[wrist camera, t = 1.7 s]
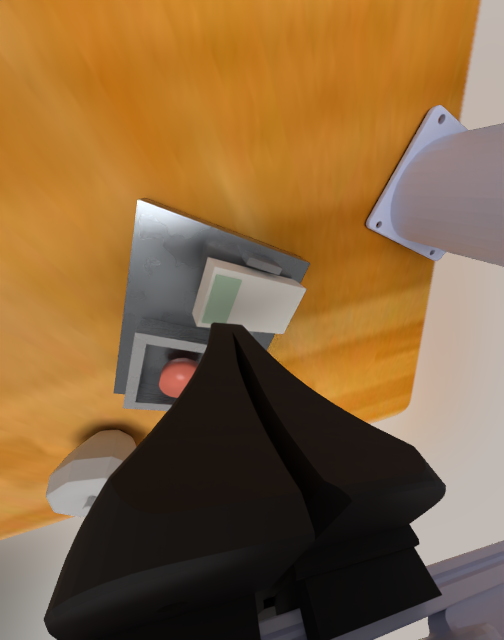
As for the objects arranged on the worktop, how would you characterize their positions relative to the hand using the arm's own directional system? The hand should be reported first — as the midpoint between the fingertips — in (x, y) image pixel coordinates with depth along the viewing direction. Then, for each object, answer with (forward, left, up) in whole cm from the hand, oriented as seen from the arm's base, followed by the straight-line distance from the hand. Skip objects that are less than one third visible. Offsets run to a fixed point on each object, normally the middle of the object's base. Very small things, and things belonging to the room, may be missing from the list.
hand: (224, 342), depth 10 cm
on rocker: (-2, 0, -6) cm, 6 cm away
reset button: (+1, +8, -6) cm, 10 cm away
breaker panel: (0, +4, -9) cm, 10 cm away
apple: (+6, +22, -10) cm, 25 cm away
